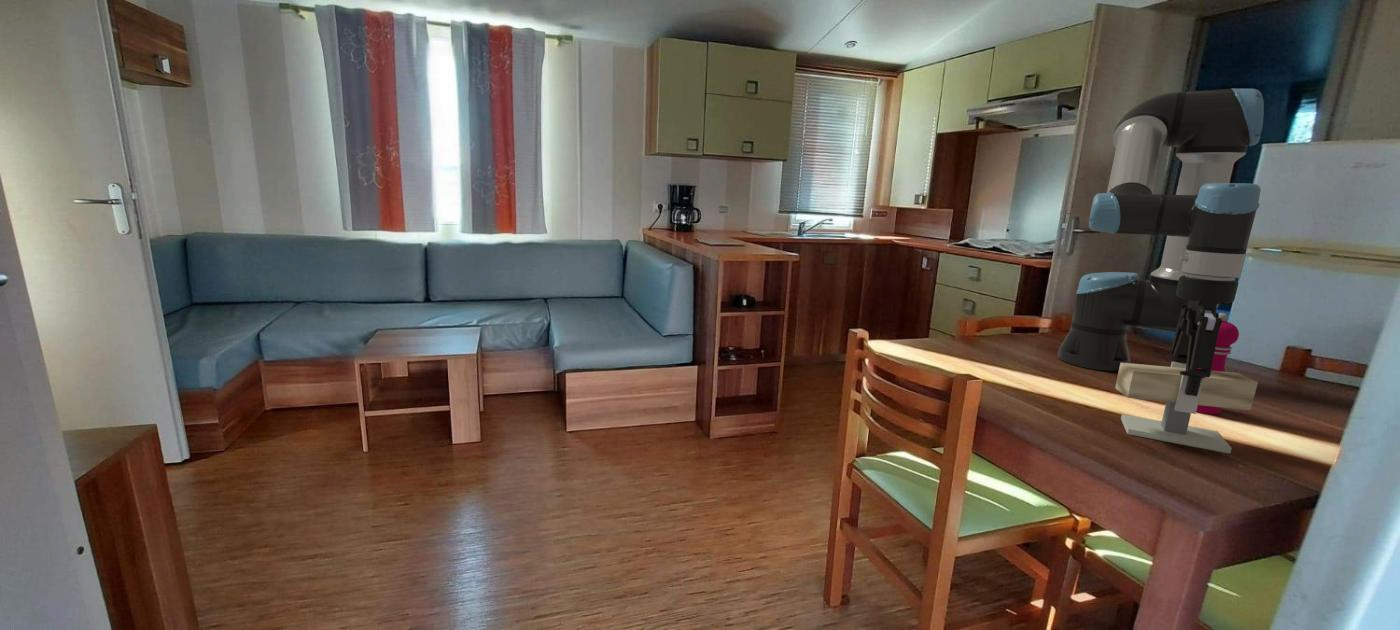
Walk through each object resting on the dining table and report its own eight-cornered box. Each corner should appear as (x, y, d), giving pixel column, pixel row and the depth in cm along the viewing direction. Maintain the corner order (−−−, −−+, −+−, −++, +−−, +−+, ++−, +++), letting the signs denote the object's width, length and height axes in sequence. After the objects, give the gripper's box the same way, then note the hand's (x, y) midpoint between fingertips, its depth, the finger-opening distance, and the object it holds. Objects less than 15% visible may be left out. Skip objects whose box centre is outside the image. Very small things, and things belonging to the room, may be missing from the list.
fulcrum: (1120, 418, 107) (1128, 384, 106) (1216, 436, 100) (1225, 399, 99) (1127, 434, 100) (1135, 397, 99) (1230, 453, 94) (1240, 414, 92)
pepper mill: (1232, 417, 109) (1258, 318, 105) (1190, 413, 111) (1214, 315, 106) (1208, 403, 116) (1231, 310, 112) (1168, 400, 118) (1190, 307, 113)
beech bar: (1115, 388, 103) (1120, 362, 102) (1231, 399, 99) (1238, 373, 98) (1127, 397, 99) (1133, 370, 98) (1250, 410, 94) (1257, 382, 93)
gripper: (1167, 268, 104) (1142, 383, 109) (1196, 282, 87) (1164, 418, 92) (1220, 272, 101) (1191, 391, 106) (1260, 287, 84) (1224, 429, 89)
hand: (1179, 403), depth 99 cm, fingers open, 7 cm apart
